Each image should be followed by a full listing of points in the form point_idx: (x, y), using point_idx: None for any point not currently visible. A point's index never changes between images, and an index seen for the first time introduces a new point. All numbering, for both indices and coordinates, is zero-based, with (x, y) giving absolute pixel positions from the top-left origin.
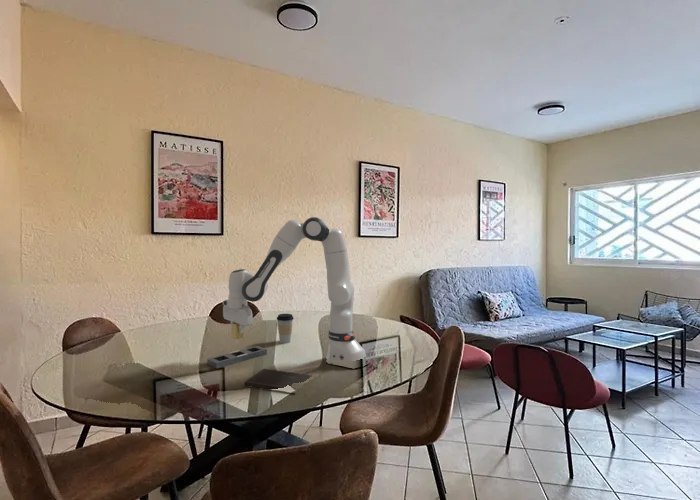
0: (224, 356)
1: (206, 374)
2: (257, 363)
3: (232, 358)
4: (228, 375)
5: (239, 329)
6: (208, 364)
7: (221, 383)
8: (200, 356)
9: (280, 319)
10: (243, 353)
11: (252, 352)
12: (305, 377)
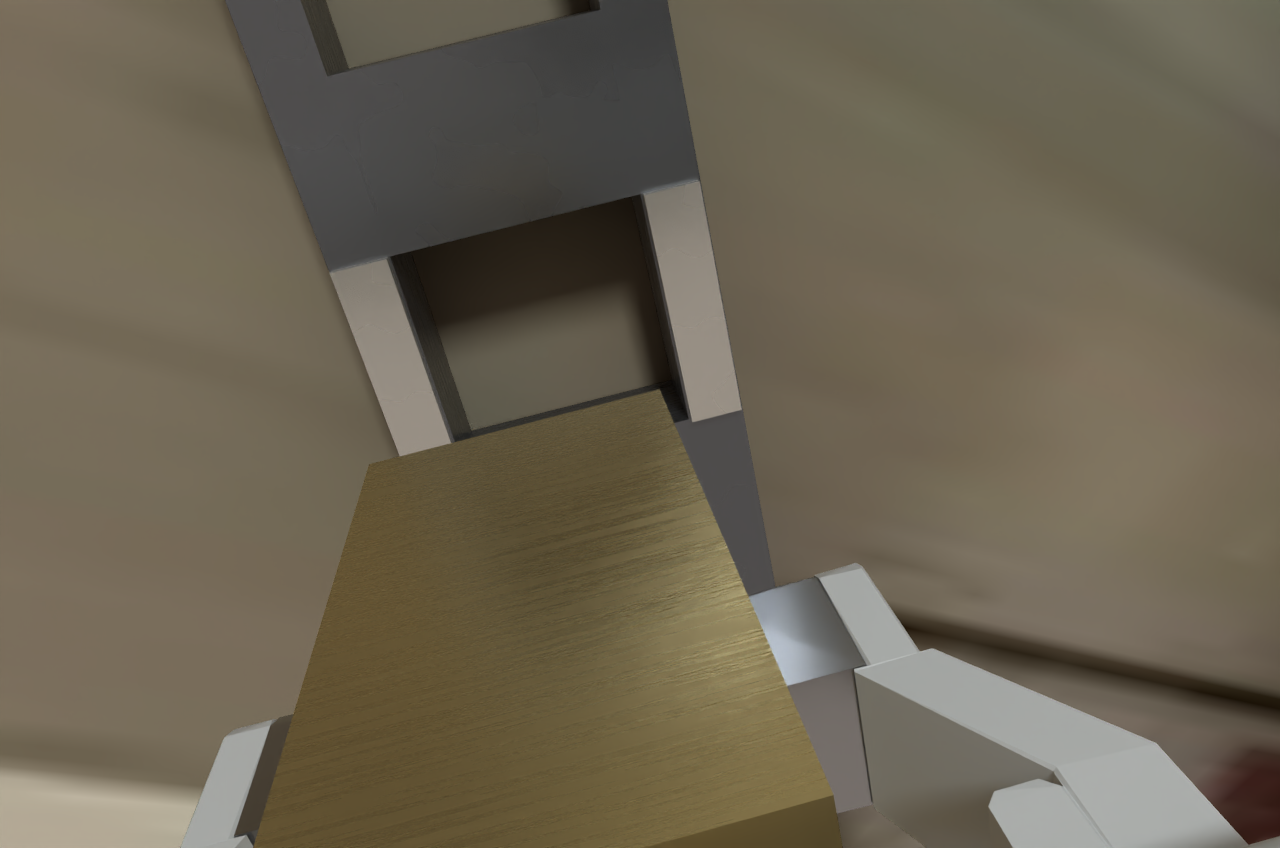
0: None
1: None
2: (995, 82)
3: (753, 509)
4: (1115, 619)
5: (874, 792)
6: None
7: (1260, 726)
8: (98, 778)
9: None
10: (533, 217)
11: (628, 22)
12: None
